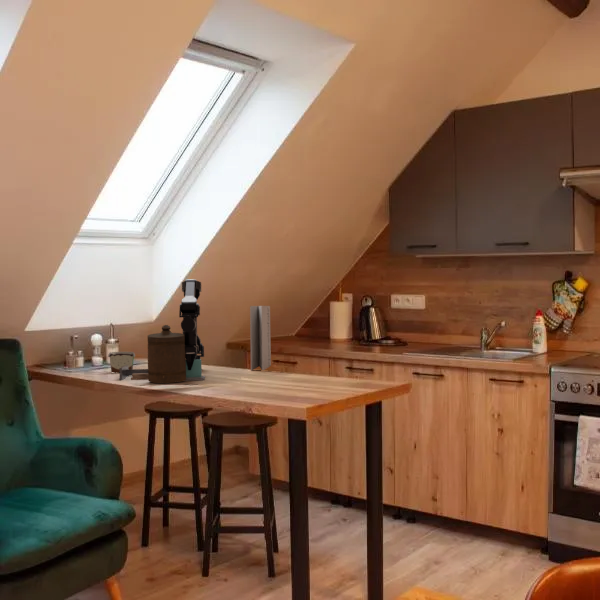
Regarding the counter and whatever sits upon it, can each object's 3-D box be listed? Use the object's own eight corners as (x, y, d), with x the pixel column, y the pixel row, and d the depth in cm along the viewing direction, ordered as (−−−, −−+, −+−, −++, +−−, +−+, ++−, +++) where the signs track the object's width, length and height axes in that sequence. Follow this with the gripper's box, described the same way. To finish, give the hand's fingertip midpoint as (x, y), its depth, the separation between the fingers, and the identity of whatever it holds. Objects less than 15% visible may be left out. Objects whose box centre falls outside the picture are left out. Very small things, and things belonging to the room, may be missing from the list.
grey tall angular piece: (263, 374, 341) (262, 305, 341) (250, 374, 342) (249, 305, 343) (270, 372, 355) (270, 305, 355) (259, 372, 356) (258, 306, 356)
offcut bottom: (163, 380, 331) (163, 376, 331) (162, 380, 327) (162, 377, 327) (132, 380, 330) (132, 377, 330) (131, 381, 327) (130, 377, 327)
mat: (205, 378, 329) (205, 375, 329) (204, 380, 319) (204, 377, 319) (176, 378, 328) (176, 376, 328) (174, 380, 318) (174, 378, 318)
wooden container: (173, 375, 323) (171, 322, 321) (193, 380, 312) (192, 325, 310) (141, 380, 313) (139, 325, 311) (160, 385, 302) (159, 328, 300)
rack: (176, 375, 346) (176, 363, 346) (173, 379, 326) (173, 366, 327) (126, 376, 345) (126, 364, 345) (119, 380, 325) (119, 368, 325)
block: (201, 376, 325) (201, 359, 325) (201, 377, 322) (201, 359, 322) (177, 377, 324) (176, 360, 324) (176, 377, 321) (176, 360, 321)
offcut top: (162, 376, 331) (162, 372, 331) (161, 377, 328) (161, 373, 328) (133, 377, 330) (133, 373, 330) (132, 377, 327) (132, 374, 327)
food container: (139, 373, 361) (138, 351, 361) (134, 374, 355) (134, 352, 355) (112, 373, 362) (112, 351, 362) (108, 374, 356) (108, 352, 356)
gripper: (171, 331, 332) (172, 368, 332) (167, 332, 314) (168, 371, 313) (198, 330, 333) (198, 367, 333) (196, 331, 314) (196, 371, 314)
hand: (190, 369), depth 323 cm, fingers open, 8 cm apart
